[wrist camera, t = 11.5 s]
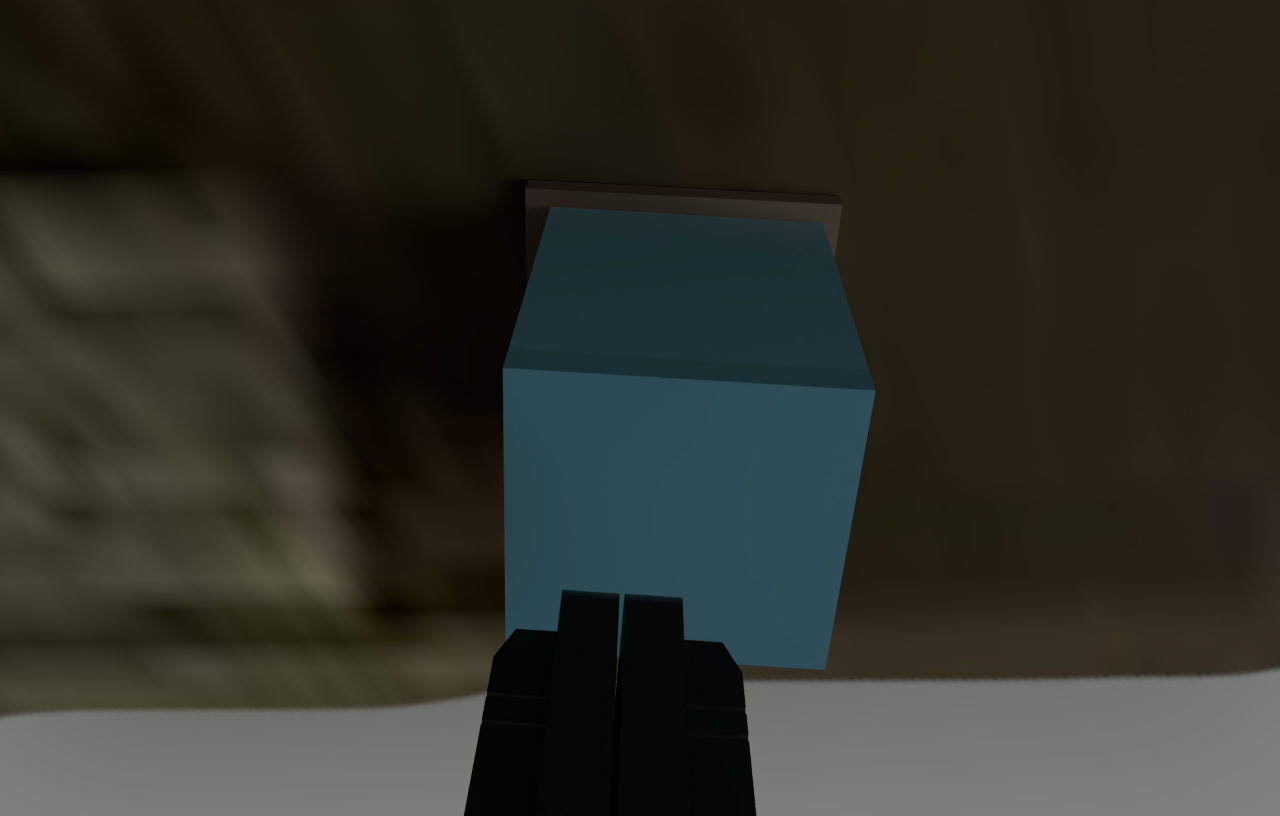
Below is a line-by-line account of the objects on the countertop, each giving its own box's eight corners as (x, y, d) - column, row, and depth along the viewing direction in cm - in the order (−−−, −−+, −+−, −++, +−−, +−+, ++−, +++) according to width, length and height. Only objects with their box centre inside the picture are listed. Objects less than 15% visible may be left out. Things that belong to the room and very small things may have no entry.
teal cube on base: (790, 453, 24) (825, 669, 18) (547, 438, 24) (505, 650, 18) (823, 222, 21) (875, 390, 16) (550, 206, 21) (502, 367, 16)
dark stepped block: (802, 458, 24) (839, 664, 19) (530, 443, 25) (485, 645, 19) (838, 195, 21) (895, 348, 16) (528, 180, 22) (474, 325, 16)
